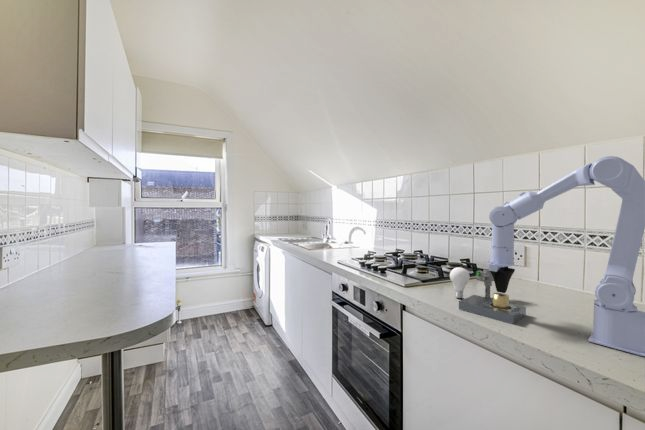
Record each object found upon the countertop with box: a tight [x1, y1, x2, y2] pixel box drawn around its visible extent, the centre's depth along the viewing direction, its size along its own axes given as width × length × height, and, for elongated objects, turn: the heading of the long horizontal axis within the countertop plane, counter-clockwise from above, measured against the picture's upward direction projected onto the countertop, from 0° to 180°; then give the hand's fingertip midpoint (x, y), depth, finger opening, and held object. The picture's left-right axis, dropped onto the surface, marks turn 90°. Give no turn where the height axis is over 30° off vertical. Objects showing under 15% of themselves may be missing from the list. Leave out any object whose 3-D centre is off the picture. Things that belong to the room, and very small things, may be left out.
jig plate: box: [458, 294, 527, 325], centre depth 89 cm, size 15×11×2 cm
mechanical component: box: [475, 268, 494, 299], centre depth 103 cm, size 3×10×10 cm, turn 111°
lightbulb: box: [449, 266, 471, 300], centre depth 102 cm, size 6×6×11 cm
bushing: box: [492, 292, 510, 309], centre depth 87 cm, size 4×4×6 cm
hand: (501, 292), depth 86 cm, fingers closed
